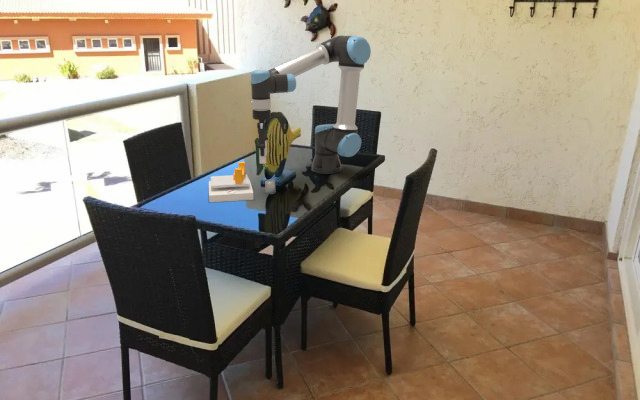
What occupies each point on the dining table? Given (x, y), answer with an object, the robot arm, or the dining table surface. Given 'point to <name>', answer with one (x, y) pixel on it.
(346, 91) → the robot arm
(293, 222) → the dining table surface
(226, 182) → the scale
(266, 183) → the block
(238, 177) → the pipe clamp
